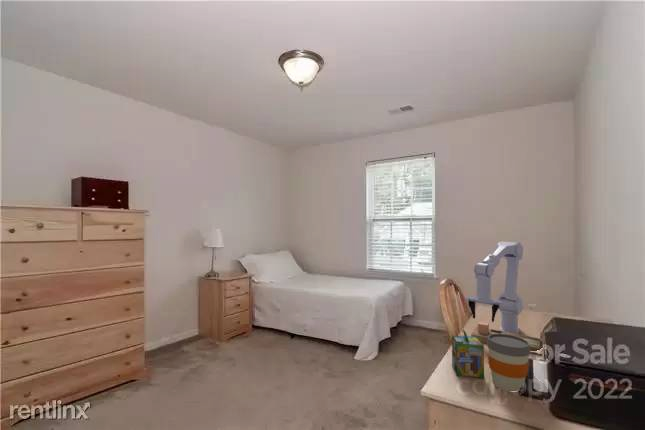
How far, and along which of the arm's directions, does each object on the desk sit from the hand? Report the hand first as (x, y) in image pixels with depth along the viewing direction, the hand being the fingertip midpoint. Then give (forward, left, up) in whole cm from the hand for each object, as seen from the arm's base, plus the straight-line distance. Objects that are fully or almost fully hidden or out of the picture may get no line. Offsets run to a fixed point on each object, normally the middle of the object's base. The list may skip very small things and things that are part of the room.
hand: (483, 319), depth 144 cm
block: (-5, -1, -7) cm, 9 cm away
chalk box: (+35, 0, -10) cm, 37 cm away
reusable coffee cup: (+37, +13, -10) cm, 41 cm away
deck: (-5, +8, -10) cm, 14 cm away
